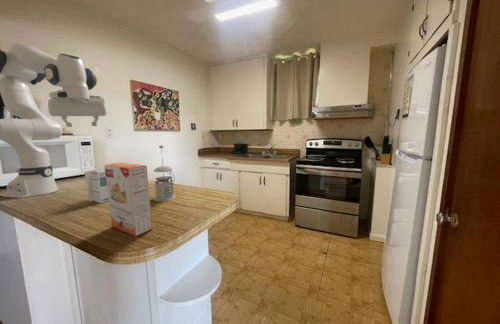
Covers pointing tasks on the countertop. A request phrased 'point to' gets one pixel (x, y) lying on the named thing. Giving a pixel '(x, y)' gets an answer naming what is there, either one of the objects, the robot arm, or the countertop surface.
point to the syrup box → (99, 186)
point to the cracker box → (129, 197)
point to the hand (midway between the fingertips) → (82, 126)
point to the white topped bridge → (90, 184)
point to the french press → (164, 184)
